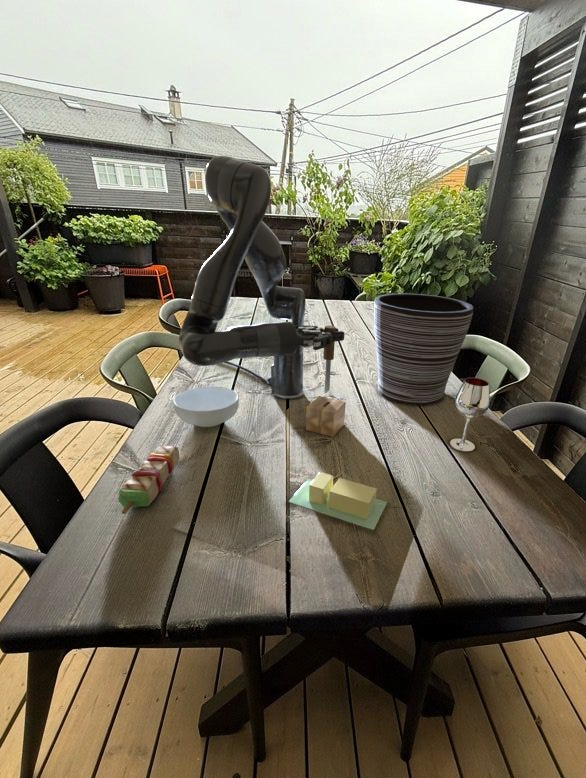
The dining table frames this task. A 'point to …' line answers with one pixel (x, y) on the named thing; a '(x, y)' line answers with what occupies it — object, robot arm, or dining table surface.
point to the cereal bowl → (206, 405)
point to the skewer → (149, 478)
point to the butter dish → (324, 508)
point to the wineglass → (471, 407)
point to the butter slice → (320, 488)
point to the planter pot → (418, 344)
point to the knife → (328, 358)
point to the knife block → (325, 416)
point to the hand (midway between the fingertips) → (340, 334)
